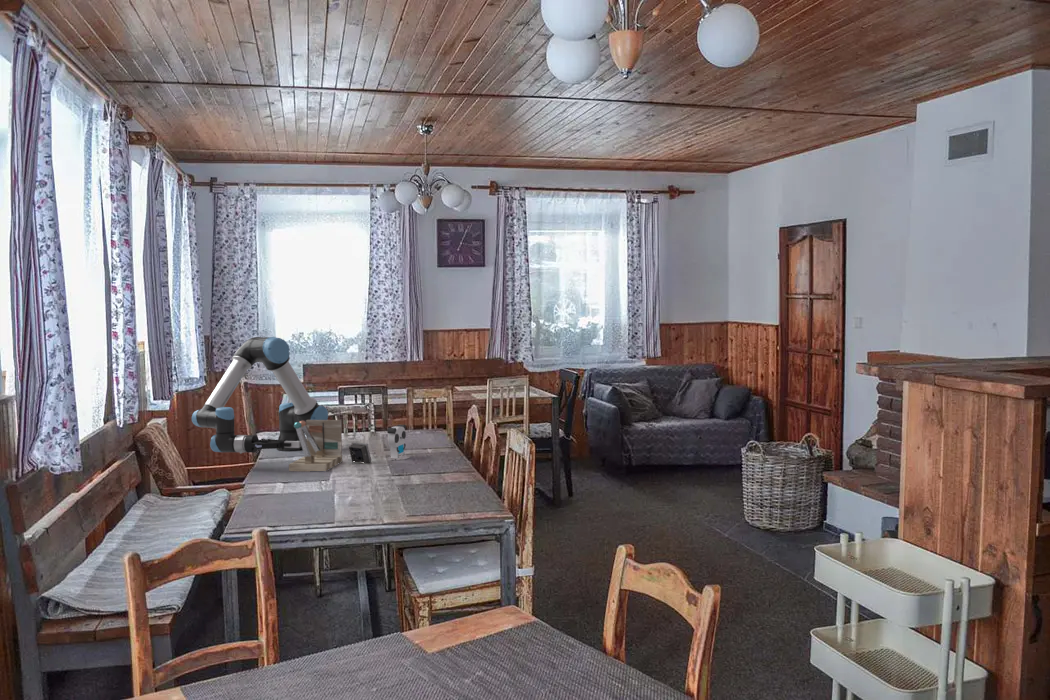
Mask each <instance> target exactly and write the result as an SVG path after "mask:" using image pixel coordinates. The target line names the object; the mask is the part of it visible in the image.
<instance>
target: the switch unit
mask: <svg viewBox="0 0 1050 700" xmlns="http://www.w3.org/2000/svg"><path fill="white" fill-rule="evenodd" d="M306 425H307V427H308V429H309V431H310V432H311V434H312V436H313V437H314V439H315V441H316V443H317V444H318V446H319V448H320V449H321V451H316V452H315V450H314V449H313V447H312V445H311V443H310V442H309V440H308V438H307V436H306V435H305V437H306V439H307V445H308V448H309V451H310V454H311V457H312V459H311V457H305V455H304V456H303V457H300V458H299V459H296V460H294V461H293V462H291V463H289V464H288V471H289V472H310V471H326V470H327V471H329V470H331V469H332V468H334V467H336V466H337V465H339V464H340V462H341V463H342V462H343V441H342V440H343V439H342V437H343V435H342V431H343V430H342V419H328V420H306ZM338 463H339V464H338ZM335 465H336V466H335ZM330 468H331V469H330ZM328 469H329V470H328ZM327 471H326V472H327Z"/></svg>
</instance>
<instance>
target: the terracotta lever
mask: <svg viewBox="0 0 1050 700" xmlns="http://www.w3.org/2000/svg"><path fill="white" fill-rule="evenodd" d="M300 423H301V425H302V426H301V427H302V430H303V431H304V434H305V437H306V436H307V437H306V439H307V438H308V440H309V442H310V443H311V445H312V447H313V449H314V450H315V452H316V451H321V449H320V448H319V446H318V444H317V443H316V441H315V439H314V437H313V436H312V434H311V432H310V431H309V429H308V427H307V425H306V422H305V421H300Z"/></svg>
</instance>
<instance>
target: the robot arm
mask: <svg viewBox="0 0 1050 700" xmlns="http://www.w3.org/2000/svg"><path fill="white" fill-rule="evenodd" d="M290 354H291V353H290V346H289V344H288V343H287V341H286V340H284V338H281V337H275V336H268V337H267V336H266V337H265V336H262V337H261V336H254V337H251V338H249V339H247V340H246V341H244V342H243V343H242V345H240V346H239V347H238V349H237V350H236V351H235V353H234V354H233V356H232V357H231V359H232V362H231V363H230V365H229V366H228V367H227V369H226V371H225V372H224V374H223V375H222V377H221V379H219V382H218V383H217V384H216V386H215V388H214V389H213V391H212V392H211V394H210V396H209V397H208V398H207V400H206V401H205V403H204V405H203V407H202V408H201V409H197V410H195V411H193V413H192V414H191V415H192V416H191V422H192V424H193V425H194V426H196V427H199V428H209V429H215V434H214V435H212V436H211V438H210V443H209V446H210V449H211V451H213V452H215V453H239V454H240V455H241V454H243V453H251V454H252V453H257V451H258V450H270V449H271V450H274V449H276V450H277V451H285V452H286V451H287V452H288V451H290V450H294V451H301V450H300V449H302V446H301V443H300V440H299V437H298V434H297V431H296V429H295V428H294V424H295V423H296V422H300V421H305V422H306V420H329V419H328V418H329V411H328V408H327V407H325V406H323V405H320V404H319V403H318V401H317V400H316V399H315V398H314V397H311V396H310V395H309V392H308V391H307V390H306V388H305V386H304V385H303V383H302V381H301V379H300V378H299V376H298V375H297V373H296V371H295V370H294V369H293V366H292V365H291V362H290ZM256 363H262V364H263V366H264V367H265V369H266V370H267V371H269V372H272V373H273V374H274V377H275V378H276V380H277V381H278V383H279V385H280V386H281V388H282V389H283V391H284V392H285V394H286V396H287V398H288V399H289V400H290V402H284V403H281V404H280V405H279V406H278V408H279V410H278V419H279V420H278V421H279V424H278V425H279V434H278V439H272V438H268V439H266V438H261V439H259V437H258V436H257V435H255V434H254V435H253V434H251V435H250V434H248V435H247V434H235V411H234V408H232V407H231V406H230V407H229V406H225V405H226V404H227V403H228V401H229V399H230V397H231V396H232V395H233V393H234V392H235V389H236V388H237V387H238V385H239V383H240V382H241V380H242V379H243V377H244V376H245V374H246V372H247V371H248V370H250V369H251V368H252V367H253V365H255V364H256ZM303 433H304V431H303ZM304 436H305V439H306V442H307V437H306V435H305V433H304ZM302 450H303V449H302Z"/></svg>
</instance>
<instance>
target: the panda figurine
mask: <svg viewBox="0 0 1050 700" xmlns="http://www.w3.org/2000/svg"><path fill="white" fill-rule="evenodd" d="M406 428H407V427H406V424H397V425H396V426H395V425H394V426H391V427H388V428H387V431H386V432H387V444H388V447H389V450H390V451H389V452H390V456H391V458H399V455H401V456H402V455H404V456H405V449H406V443H405V442H406V439H407V438H406V437H407V433H406Z"/></svg>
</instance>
